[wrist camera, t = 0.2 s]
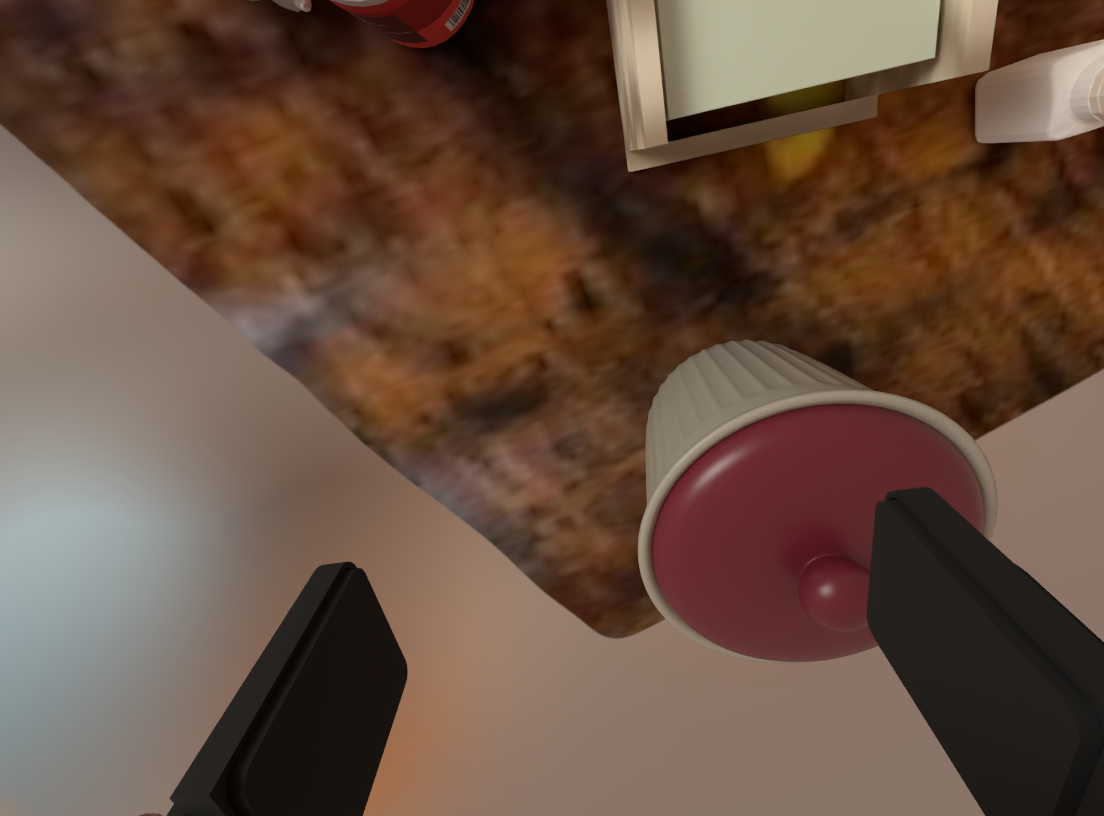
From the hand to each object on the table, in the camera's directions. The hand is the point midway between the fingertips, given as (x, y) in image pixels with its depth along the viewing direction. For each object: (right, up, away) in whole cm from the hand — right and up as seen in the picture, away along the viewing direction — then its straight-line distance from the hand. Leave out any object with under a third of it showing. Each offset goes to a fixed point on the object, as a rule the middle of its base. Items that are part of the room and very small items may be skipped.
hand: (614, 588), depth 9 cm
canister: (+13, +3, +33) cm, 35 cm away
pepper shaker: (+27, +23, +23) cm, 42 cm away
